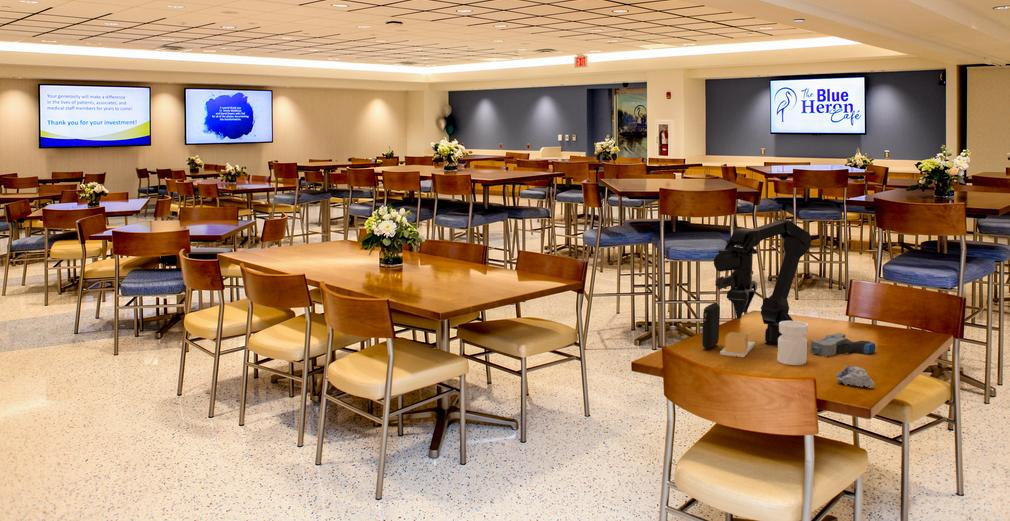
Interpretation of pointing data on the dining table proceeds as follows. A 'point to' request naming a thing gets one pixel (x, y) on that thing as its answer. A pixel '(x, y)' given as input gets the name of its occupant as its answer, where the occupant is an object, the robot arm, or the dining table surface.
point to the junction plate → (750, 346)
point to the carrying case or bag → (711, 325)
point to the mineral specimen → (855, 377)
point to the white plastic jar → (792, 342)
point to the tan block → (736, 342)
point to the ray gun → (840, 345)
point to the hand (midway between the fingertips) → (741, 315)
